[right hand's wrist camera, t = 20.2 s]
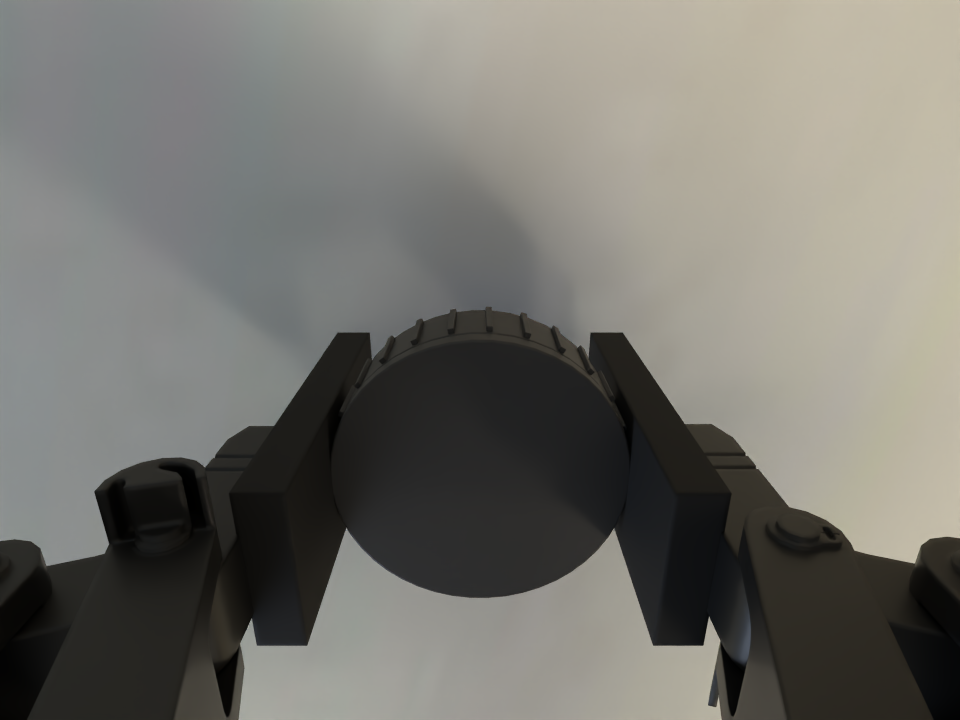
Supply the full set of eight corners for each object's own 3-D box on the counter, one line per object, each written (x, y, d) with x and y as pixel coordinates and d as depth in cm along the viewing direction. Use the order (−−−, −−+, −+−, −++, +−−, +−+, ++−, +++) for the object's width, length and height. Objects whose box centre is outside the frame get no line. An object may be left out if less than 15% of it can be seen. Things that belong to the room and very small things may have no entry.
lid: (599, 281, 11) (619, 307, 9) (627, 523, 13) (647, 579, 11) (312, 332, 11) (284, 366, 10) (382, 560, 13) (369, 620, 12)
